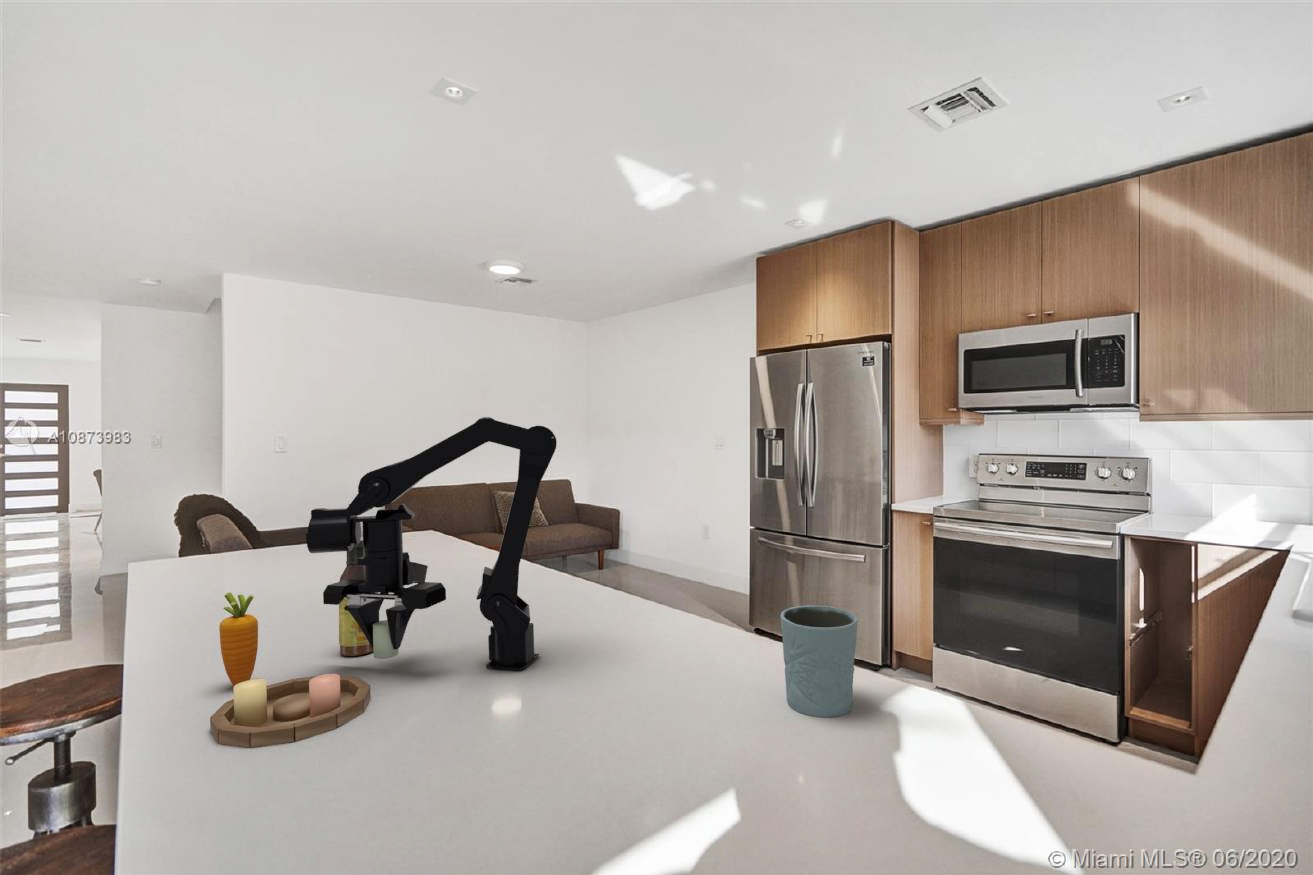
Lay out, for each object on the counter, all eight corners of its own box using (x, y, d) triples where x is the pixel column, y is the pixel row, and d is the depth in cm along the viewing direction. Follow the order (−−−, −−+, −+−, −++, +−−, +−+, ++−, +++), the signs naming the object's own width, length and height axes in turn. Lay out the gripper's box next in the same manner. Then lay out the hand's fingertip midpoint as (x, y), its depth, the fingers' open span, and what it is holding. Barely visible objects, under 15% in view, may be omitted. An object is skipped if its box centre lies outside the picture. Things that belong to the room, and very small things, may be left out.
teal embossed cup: (808, 683, 92) (806, 601, 92) (874, 703, 85) (871, 613, 85) (767, 705, 85) (765, 616, 85) (835, 728, 78) (832, 631, 78)
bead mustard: (274, 717, 84) (272, 680, 84) (249, 730, 80) (248, 690, 80) (252, 715, 85) (251, 678, 85) (227, 727, 81) (226, 688, 81)
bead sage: (403, 651, 101) (402, 620, 101) (388, 659, 98) (387, 627, 98) (384, 650, 102) (383, 619, 102) (368, 658, 99) (367, 625, 99)
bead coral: (347, 712, 85) (346, 674, 85) (326, 724, 81) (325, 685, 81) (324, 709, 86) (323, 672, 86) (303, 721, 82) (302, 683, 82)
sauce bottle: (363, 658, 108) (359, 542, 108) (331, 657, 109) (327, 542, 109) (386, 646, 115) (383, 536, 115) (356, 644, 116) (353, 536, 116)
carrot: (267, 688, 96) (264, 589, 96) (234, 701, 92) (231, 597, 92) (246, 683, 98) (244, 586, 98) (213, 695, 94) (210, 594, 94)
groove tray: (396, 697, 91) (396, 680, 91) (294, 760, 74) (294, 739, 74) (295, 687, 96) (294, 671, 96) (177, 744, 79) (176, 724, 79)
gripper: (464, 541, 105) (466, 635, 105) (369, 539, 110) (371, 629, 110) (422, 554, 94) (425, 658, 94) (319, 551, 99) (322, 650, 99)
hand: (386, 647), depth 100 cm, fingers closed on bead sage, 4 cm apart
